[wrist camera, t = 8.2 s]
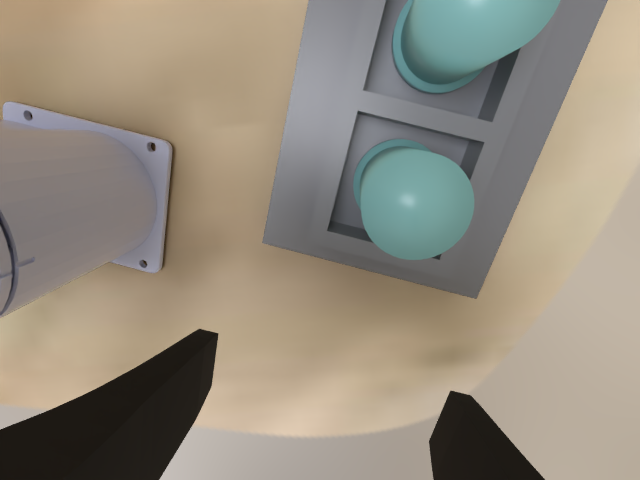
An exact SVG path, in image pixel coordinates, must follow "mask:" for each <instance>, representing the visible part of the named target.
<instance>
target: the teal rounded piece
mask: <svg viewBox="0 0 640 480" xmlns="http://www.w3.org/2000/svg"><path fill="white" fill-rule="evenodd" d="M353 191H354V196H355V200H356V202H357V204H358V206H359V208H360V210H361V216H362V221H363V224H364V227H365V230H366V232H367V234H368V236H369V237H370V238H371V240H372V241H373V242H374V243H375V244H376V245H377V246H378V247H379V248H380V249H381V250H383V251H384V252H386V253H388V254H390V255H392V256H394V257H397V258H401V259H406V260H422V259H428V258H431V257H435V256H437V255H439V254H442V253H443V252H445V251H447V250H448V249H450V248H451V247H452V246H454V245H455V244H456V243H457V242H458V241H459V240H460V239H461V237H462V236H463V235H464V233H465V232H466V230H467V229H468V227H469V224H470V222H471V219H472V216H473V212H474V193H473V189H472V186H471V183H470V181H469V179H468V177H467V175H466V174H465V172H464V171H463V170H462V169H461V168H460V167H459V166H458V165H457V164H456V163H455V162H453V161H452V160H450V159H448V158H446V157H444V156H442V155H439V154H436V153H432V152H431V151H430V150H429V149H428V148H426V147H425V146H424V145H422V144H420V143H418V142H415V141H412V140H406V139H392V140H387V141H384V142H381V143H379V144H377V145H375V146H374V147H373V148H371V149H370V150H369V151H368V152H367V153H366V154H365V155H364V156H363V157H362V159H361V160H360V162H359V163H358V165H357V168H356V171H355V174H354V181H353Z"/></svg>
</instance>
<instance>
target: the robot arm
mask: <svg viewBox="0 0 640 480" xmlns="http://www.w3.org/2000/svg"><path fill="white" fill-rule="evenodd" d="M30 113H32V116H33V118H31V116H30ZM152 143H154V144H155V146H156V150H155V151H153V150H152V149H151V144H152ZM171 162H172V146H171V144H170V143H169V142H168V141H166V140H163V139H159V138H155V137H151V136H147V135H144V134H140V133H136V132H132V131H128V130H124V129H120V128H116V127H112V126H108V125H104V124H100V123H96V122H93V121H89V120H85V119H81V118H77V117H73V116H69V115H65V114H61V113H57V112H53V111H49V110H46V109H42V108H38V107H34V106H30V105H26V104H22V103H18V102H10V101H7V102H5V103H4V105H3V120H0V318H1V317H3V316H5V315H7V314H9V313H11V312H13V311H15V310H17V309H19V308H21V307H23V306H25V305H27V304H29V303H31V302H32V301H34V300H36V299H38V298H40V297H42V296H44V295H46V294H48V293H50V292H52V291H54V290H56V289H58V288H60V287H61V286H63V285H65V284H67V283H69V282H71V281H73V280H75V279H77V278H79V277H81V276H83V275H85V274H87V273H89V272H90V271H92V270H94V269H96V268H98V267H100V266H102V265H104V264H106V263H108V262H111V263H115V264H119V265H123V266H126V267H130V268H134V269H138V270H141V271H145V272H149V273H156V272H158V271H159V270H160V269H161V268H162V262H163V251H164V240H165V229H166V218H167V206H168V195H169V184H170V173H171ZM143 260H145V261H146V262H147V265H145V264H144V263H143ZM217 340H218V333H214V332H210V331H206V330H202V329H198V330H196V331H195V332H193V333H191V334H190V335H188V336H187V337H185V338H183V339H182V340H180V341H179V342H177V343H175V344H174V345H172V346H171V347H169V348H167V349H166V350H164V351H163V352H161V353H159V354H158V355H156V356H154V357H153V358H151V359H149V360H147V361H146V362H144V363H142V364H141V365H139V366H137V367H136V368H134V369H132V370H130V371H128V372H127V373H125V374H123V375H121V376H119V377H117V378H116V379H114V380H112V381H110V382H108V383H106V384H104V385H103V386H101V387H99V388H97V389H95V390H93V391H91V392H88V393H86V394H84V395H82V396H80V397H78V398H76V399H74V400H71V401H69V402H67V403H65V404H62V405H60V406H58V407H56V408H53V409H51V410H49V411H46V412H44V413H41V414H39V415H36V416H34V417H31V418H29V419H26V420H24V421H21V422H19V423H16V424H13V425H11V426H8V427H6V428H3V429H1V430H0V480H159V479H160V477H161V476H162V474H163V472H164V471H165V469H166V467H167V466H168V464H169V462H170V461H171V459H172V458H173V456H174V454H175V453H176V451H177V450H178V448H179V446H180V445H181V443H182V441H183V440H184V438H185V436H186V435H187V433H188V431H189V430H190V428H191V427H192V425H193V423H194V422H195V420H196V418H197V416H198V414H199V412H200V410H201V408H202V406H203V404H204V401H205V399H206V397H207V395H208V393H209V391H210V388H211V386H212V378H213V371H214V363H215V355H216V348H217ZM429 444H430V454H431V463H432V471H433V478H434V480H545V479H544V478H543V477H542V476H541V475H540V474H539V473H538V471H537V470H536V469H535V468H534V467H533V466H532V465H531V464H530V463H529V461H528V460H527V459H526V458H525V457H524V456H523V455H522V454H521V452H520V451H519V450H518V449H517V448H516V447H515V445H514V444H513V443H512V442H511V441H510V440H509V438H508V437H507V436H506V435H505V434H504V433H503V432H502V431H501V429H500V428H499V427H498V426H497V424H496V423H495V422H494V421H493V420H492V419H491V418H490V416H489V415H488V414H487V413H486V412H485V411H484V409H483V408H482V407H481V406H480V405H479V404H478V403H477V402H476V401H475V400H474V398H473V397H472V396H470V395H466V394H462V393H458V392H454V391H450V393H449V395H448V398H447V400H446V402H445V405H444V407H443V410H442V412H441V414H440V417H439V419H438V421H437V424H436V426H435V428H434V431H433V433H432V436H431V438H430V440H429Z"/></svg>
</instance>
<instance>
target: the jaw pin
mask: <svg viewBox="0 0 640 480" xmlns="http://www.w3.org/2000/svg"><path fill="white" fill-rule="evenodd" d="M559 3H560V0H408V1H407V3H406V4H405V5H404V7H403V9H402V11H401V13H400V15H399V17H398V20H397V22H396V25H395V28H394V31H393V36H392V46H391V49H392V58H393V62H394V65H395V68H396V70H397V72H398V74H399V75H400V77H401V78H402V79H403V80H404V81H405V83H407V84H408V85H409V86H410V87H412V88H413V89H415V90H417V91H420V92H422V93H426V94H443V93H447V92H451V91H453V90H455V89H458V88H460V87H462V86H464V85H466V84H467V83H469V82H470V81H472V80H473V79H474V78H475V77H476V76H477V75H478V74H480V73H481V71H482V70H483V69H484V68H485V66H487V65H489V64H491V63H493V62H494V61H496V60H498V59H500V58H502V57H504V56H506V55H508V54H510V53H512V52H513V51H515V50H517V49H519V48H520V47H522V46H524V45H525V44H527V43H528V42H529V41H531V40H532V39H533V38H534V37H535V36H536V35H537V34H538V33H539V32H540V31H541V30H542V29H543V28H544V27H545V25H546V24H547V23H548V22H549V20H550V19H551V17H552V16H553V14H554V12H555V11H556V9H557V7H558V5H559Z"/></svg>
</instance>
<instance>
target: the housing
mask: <svg viewBox="0 0 640 480" xmlns="http://www.w3.org/2000/svg"><path fill="white" fill-rule="evenodd" d="M407 1H408V0H309V2H308V7H307V12H306V18H305V23H304V28H303V33H302V38H301V44H300V49H299V54H298V59H297V65H296V70H295V75H294V80H293V85H292V91H291V96H290V101H289V106H288V111H287V117H286V122H285V127H284V132H283V138H282V143H281V148H280V153H279V158H278V164H277V169H276V174H275V179H274V184H273V190H272V195H271V200H270V205H269V211H268V216H267V221H266V226H265V231H264V237H263V242H262V243H264V244H268V245H272V246H276V247H279V248H283V249H287V250H291V251H295V252H299V253H302V254H306V255H310V256H314V257H318V258H322V259H325V260H329V261H333V262H337V263H341V264H345V265H348V266H352V267H356V268H360V269H364V270H368V271H371V272H375V273H379V274H383V275H387V276H391V277H394V278H398V279H402V280H406V281H410V282H414V283H417V284H421V285H425V286H429V287H433V288H437V289H440V290H444V291H448V292H452V293H456V294H460V295H463V296H467V297H471V298H475V299H476V298H477V296H478V294H479V292H480V289H481V287H482V285H483V283H484V280H485V278H486V276H487V273H488V271H489V269H490V267H491V264H492V262H493V260H494V258H495V255H496V253H497V251H498V248H499V246H500V244H501V242H502V239H503V237H504V235H505V233H506V230H507V228H508V226H509V223H510V221H511V219H512V217H513V214H514V212H515V210H516V208H517V205H518V203H519V201H520V198H521V196H522V194H523V192H524V189H525V187H526V185H527V183H528V180H529V178H530V176H531V173H532V171H533V169H534V167H535V164H536V162H537V160H538V158H539V155H540V153H541V151H542V148H543V146H544V144H545V142H546V139H547V137H548V135H549V133H550V130H551V128H552V126H553V123H554V121H555V119H556V117H557V114H558V112H559V110H560V108H561V105H562V103H563V101H564V98H565V96H566V94H567V92H568V89H569V87H570V85H571V83H572V80H573V78H574V76H575V73H576V71H577V69H578V67H579V64H580V62H581V60H582V58H583V55H584V53H585V51H586V48H587V46H588V44H589V42H590V39H591V37H592V35H593V33H594V30H595V28H596V26H597V23H598V21H599V19H600V17H601V14H602V12H603V10H604V8H605V5H606V3H607V1H608V0H560V3H559V5H558V7H557V9H556V11H555V12H554V14H553V16H552V17H551V19H550V20H549V22H548V23H547V24H546V25H545V27H544V28H543V29H542V30H541V31H540V32H539V33H538V34H537V35H536V36H535V37H534V38H533V39H532V40H531V41H529V42H528V43H527V44H525V45H524V46H522V47H520V48H519V49H517V50H515V51H513V52H512V53H510V54H508V55H506V56H504V57H502V58H500V59H498V60H496V61H494V62H493V63H491V64H489V65H487V66H485V68H484V69H483V70H482V71H481V73H480V74H478V75H477V76H476V77H475V78H474V79H473V80H472V81H470V82H469V83H467V84H466V85H464V86H462V87H460V88H458V89H455V90H453V91H451V92H447V93H443V94H426V93H422V92H420V91H417V90H415V89H413V88H412V87H410V86H409V85H408V84H407V83H405V81H404V80H403V79H402V78H401V77H400V75H399V74H398V72H397V70H396V68H395V65H394V62H393V58H392V49H391V46H392V36H393V31H394V28H395V25H396V22H397V20H398V17H399V15H400V13H401V11H402V9H403V7H404V5H405V4H406V3H407ZM392 139H406V140H412V141H415V142H418V143H420V144H422V145H424V146H425V147H426V148H428V149H429V150H430V151H431V152H432V153H436V154H439V155H442V156H444V157H446V158H448V159H450V160H452V161H453V162H455V163H456V164H457V165H458V166H459V167H460V168H461V169H462V170H463V171H464V172H465V174H466V175H467V177H468V179H469V181H470V183H471V186H472V189H473V193H474V212H473V216H472V219H471V222H470V224H469V227H468V229H467V230H466V232H465V233H464V235H463V236H462V237H461V239H460V240H459V241H458V242H457V243H456V244H455V245H454V246H452V247H451V248H450V249H448V250H447V251H445V252H443V253H442V254H439V255H437V256H435V257H431V258H428V259H422V260H406V259H401V258H397V257H394V256H392V255H390V254H388V253H386V252H384V251H383V250H381V249H380V248H379V247H378V246H377V245H376V244H375V243H374V242H373V241H372V240H371V238H370V237H369V236H368V234H367V232H366V230H365V227H364V224H363V221H362V216H361V210H360V208H359V206H358V204H357V202H356V200H355V196H354V191H353V181H354V174H355V171H356V168H357V165H358V163H359V162H360V160H361V159H362V157H363V156H364V155H365V154H366V153H367V152H368V151H369V150H370V149H371V148H373V147H374V146H375V145H377V144H379V143H381V142H384V141H387V140H392Z"/></svg>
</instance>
